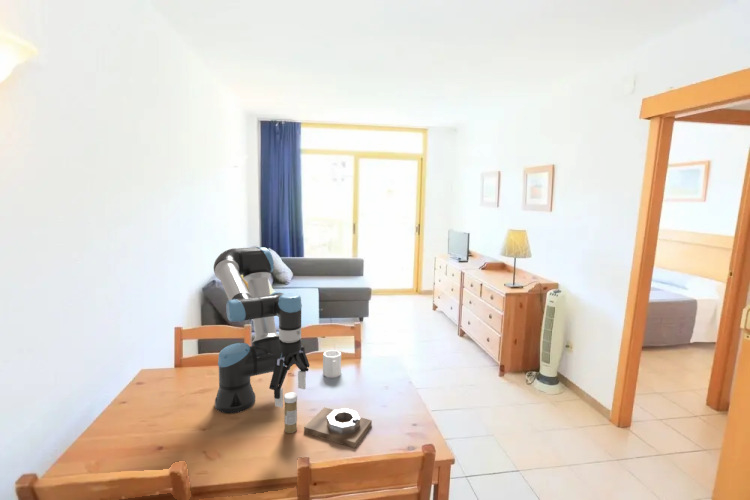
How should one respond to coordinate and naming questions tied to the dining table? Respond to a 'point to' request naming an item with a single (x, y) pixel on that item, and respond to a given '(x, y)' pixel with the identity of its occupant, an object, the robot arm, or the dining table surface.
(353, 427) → the ring
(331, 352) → the mug
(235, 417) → the dining table surface
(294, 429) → the sprinkles bottle
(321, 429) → the block
